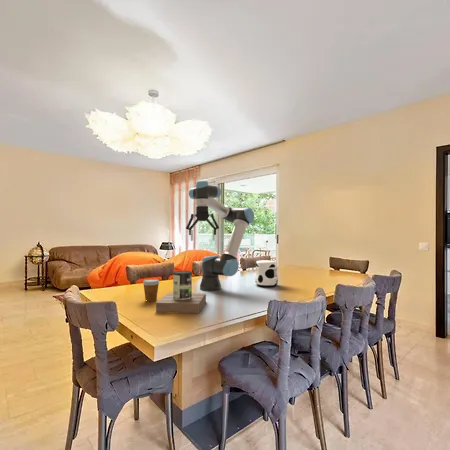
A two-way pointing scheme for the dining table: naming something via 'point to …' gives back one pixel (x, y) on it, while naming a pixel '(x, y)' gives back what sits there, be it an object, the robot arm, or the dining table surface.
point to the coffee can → (182, 285)
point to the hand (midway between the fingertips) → (202, 240)
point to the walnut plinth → (181, 304)
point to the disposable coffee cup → (151, 289)
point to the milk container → (266, 273)
